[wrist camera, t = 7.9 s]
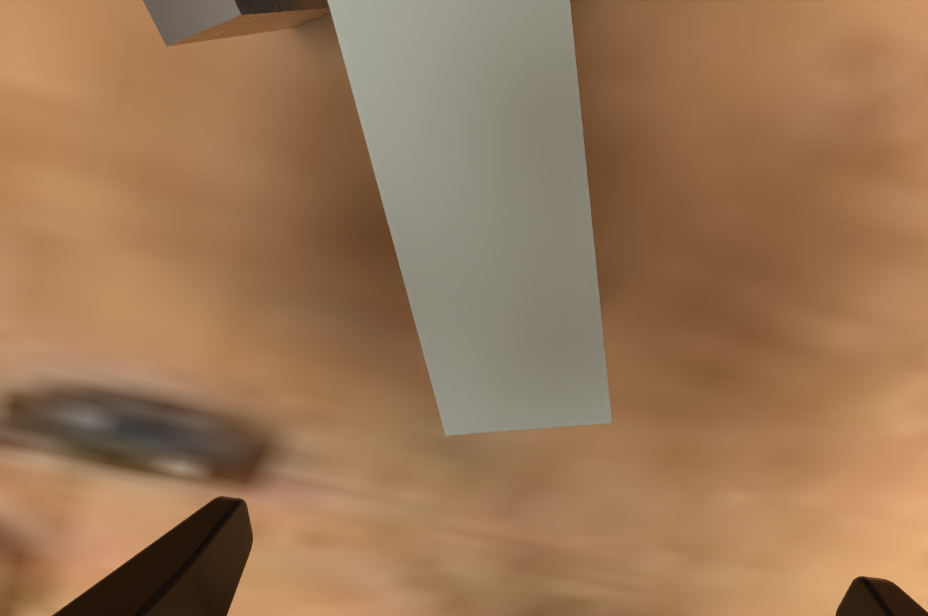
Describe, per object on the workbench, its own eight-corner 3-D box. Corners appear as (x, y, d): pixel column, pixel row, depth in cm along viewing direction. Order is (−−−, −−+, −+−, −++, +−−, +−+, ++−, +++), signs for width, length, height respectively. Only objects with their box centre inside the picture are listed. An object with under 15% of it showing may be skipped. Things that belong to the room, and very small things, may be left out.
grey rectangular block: (594, 317, 18) (612, 423, 13) (468, 330, 18) (445, 435, 14) (543, -168, 12) (544, -257, 8) (367, -119, 13) (280, -175, 9)
